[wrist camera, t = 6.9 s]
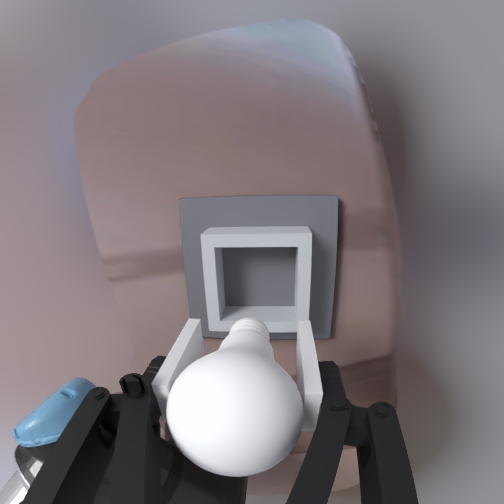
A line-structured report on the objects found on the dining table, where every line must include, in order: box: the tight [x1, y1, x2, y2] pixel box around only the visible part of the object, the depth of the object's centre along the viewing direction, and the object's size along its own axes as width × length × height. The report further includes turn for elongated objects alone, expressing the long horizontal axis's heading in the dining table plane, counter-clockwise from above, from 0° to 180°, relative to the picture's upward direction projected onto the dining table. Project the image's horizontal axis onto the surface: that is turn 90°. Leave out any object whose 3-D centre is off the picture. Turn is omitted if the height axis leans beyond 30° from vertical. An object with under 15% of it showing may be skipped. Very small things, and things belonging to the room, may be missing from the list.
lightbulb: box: [166, 318, 304, 477], centre depth 14 cm, size 6×6×11 cm
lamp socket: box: [179, 195, 338, 339], centre depth 29 cm, size 16×16×5 cm
